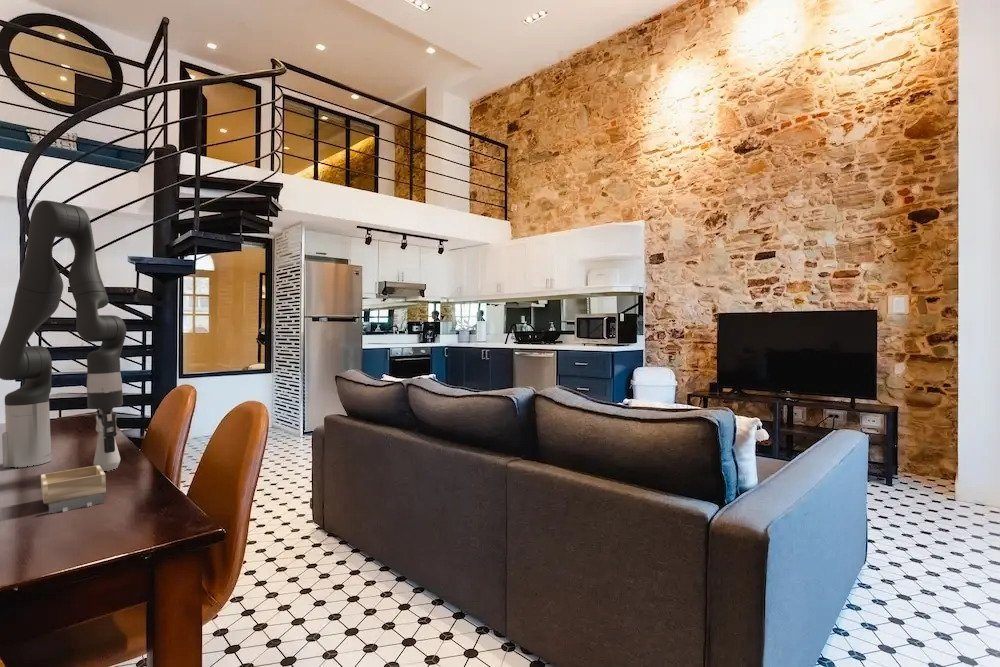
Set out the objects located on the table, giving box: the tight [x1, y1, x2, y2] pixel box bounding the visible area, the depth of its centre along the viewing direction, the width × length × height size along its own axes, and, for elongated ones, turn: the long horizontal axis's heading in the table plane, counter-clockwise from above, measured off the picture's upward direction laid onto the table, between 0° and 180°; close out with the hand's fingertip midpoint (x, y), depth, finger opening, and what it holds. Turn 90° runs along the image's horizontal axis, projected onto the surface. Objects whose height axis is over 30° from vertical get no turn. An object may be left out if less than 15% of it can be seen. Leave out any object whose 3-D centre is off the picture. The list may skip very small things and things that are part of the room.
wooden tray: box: [40, 465, 107, 507], centre depth 115 cm, size 10×10×5 cm
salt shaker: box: [93, 423, 121, 472], centre depth 138 cm, size 6×6×13 cm
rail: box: [48, 492, 104, 515], centre depth 119 cm, size 28×9×2 cm, turn 44°
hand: (107, 449), depth 138 cm, fingers open, 8 cm apart
